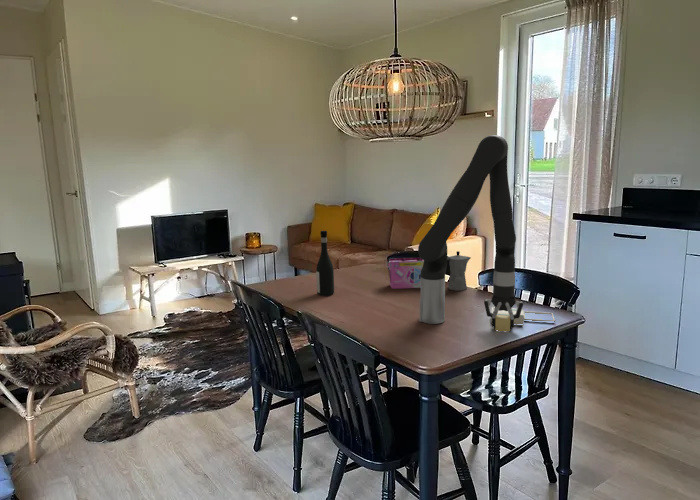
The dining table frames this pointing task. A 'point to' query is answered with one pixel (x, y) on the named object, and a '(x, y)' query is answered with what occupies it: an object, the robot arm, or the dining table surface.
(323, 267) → the wine bottle
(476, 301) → the dining table surface
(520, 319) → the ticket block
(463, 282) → the coffeepot
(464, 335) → the dining table surface
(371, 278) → the dining table surface
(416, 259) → the gum box
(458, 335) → the dining table surface
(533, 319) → the tray
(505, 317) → the beige block
